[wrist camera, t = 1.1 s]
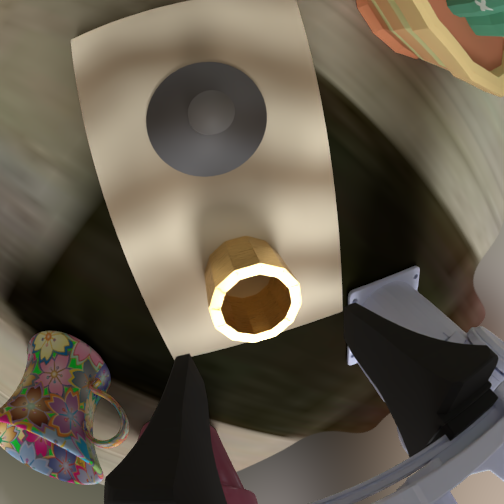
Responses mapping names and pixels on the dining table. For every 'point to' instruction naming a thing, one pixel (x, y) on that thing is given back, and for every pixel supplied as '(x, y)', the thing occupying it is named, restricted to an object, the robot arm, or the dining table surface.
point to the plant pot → (226, 473)
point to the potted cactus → (445, 35)
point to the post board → (211, 154)
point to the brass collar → (256, 306)
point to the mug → (59, 410)
